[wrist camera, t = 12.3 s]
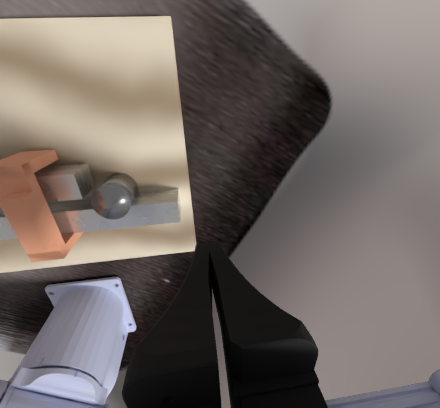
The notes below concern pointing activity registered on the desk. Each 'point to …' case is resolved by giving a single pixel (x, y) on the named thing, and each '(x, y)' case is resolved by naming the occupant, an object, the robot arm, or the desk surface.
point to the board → (98, 119)
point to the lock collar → (32, 207)
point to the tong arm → (65, 182)
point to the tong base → (111, 208)
